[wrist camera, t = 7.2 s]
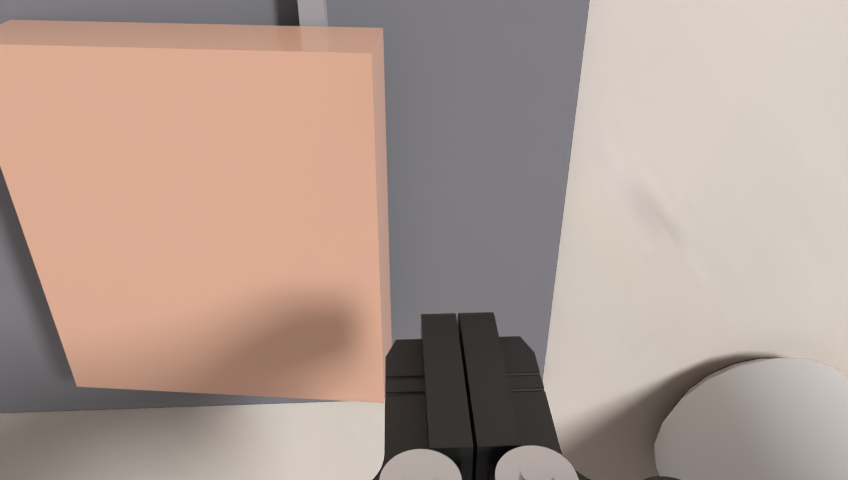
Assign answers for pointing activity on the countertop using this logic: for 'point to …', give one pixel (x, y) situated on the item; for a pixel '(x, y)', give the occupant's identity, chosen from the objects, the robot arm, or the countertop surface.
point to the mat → (406, 172)
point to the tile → (205, 202)
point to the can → (759, 424)
